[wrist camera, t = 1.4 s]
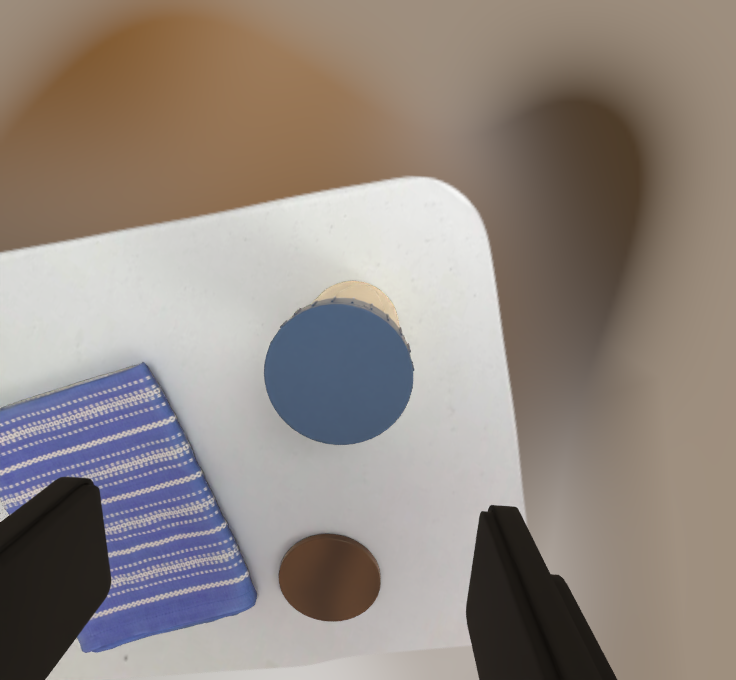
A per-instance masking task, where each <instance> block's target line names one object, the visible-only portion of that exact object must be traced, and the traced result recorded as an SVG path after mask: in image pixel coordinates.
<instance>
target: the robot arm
mask: <svg viewBox="0 0 736 680" xmlns="http://www.w3.org/2000/svg"><path fill="white" fill-rule="evenodd" d="M110 587H111V572H110V565H109V557H108V549H107V542H106V534H105V527H104V519H103V512H102V504H101V496H100V490H99V488H98V486H95V485H94V483H93V481H92V480H91V479H89V478H80V477H60V478H58V479H56V480H55V481H54V482H52V483H51V484H50V485H48V486H47V487H46V488H45V489H43V490H42V491H41V492H39V493H38V494H37V495H35V496H34V497H33V498H31V499H30V500H29V501H28V502H26V503H25V504H24V505H22V506H21V507H20V508H18V509H17V510H16V511H15V512H13V513H12V514H11V515H9V516H8V517H7V518H5V519H4V520H3V521H1V522H0V680H45V679H46V678H47V676H48V675H49V674H50V672H51V671H52V670H53V668H54V667H55V666H56V664H57V663H58V662H59V660H60V659H61V658H62V656H63V655H64V654H65V652H66V651H67V650H68V648H69V647H70V646H71V644H72V643H73V642H74V640H75V639H76V638H77V636H78V635H79V634H80V632H81V631H82V630H83V628H84V627H85V626H86V624H87V623H88V622H89V620H90V619H91V618H92V616H93V615H94V614H95V612H96V611H97V610H98V608H99V607H100V606H101V604H102V603H103V602H104V600H105V599H106V597H107V595H108V593H109V590H110ZM466 617H467V625H468V630H469V634H470V639H471V643H472V648H473V652H474V657H475V661H476V666H477V671H478V675H479V680H617V679H616V676H615V674H614V672H613V671H612V669H611V667H610V665H609V663H608V661H607V659H606V657H605V655H604V653H603V652H602V650H601V648H600V646H599V644H598V642H597V640H596V638H595V637H594V635H593V633H592V631H591V629H590V627H589V625H588V623H587V621H586V619H585V617H584V616H583V614H582V612H581V610H580V608H579V606H578V604H577V602H576V600H575V599H574V597H573V595H572V593H571V591H570V589H569V587H568V585H567V584H566V582H565V581H564V579H563V578H562V577H561V576H559V575H552V574H550V572H549V570H548V568H547V567H546V564H545V563H544V560H543V558H542V556H541V554H540V552H539V550H538V548H537V546H536V544H535V542H534V540H533V538H532V536H531V534H530V532H529V530H528V528H527V526H526V524H525V522H524V520H523V518H522V516H521V514H520V512H519V510H518V508H516V507H512V506H497V505H491V506H490V507H489V509H488V512H484V511H482V512H481V513H480V517H479V524H478V530H477V537H476V544H475V551H474V558H473V564H472V571H471V578H470V585H469V591H468V598H467V605H466Z"/></svg>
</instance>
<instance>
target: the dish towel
mask: <svg viewBox="0 0 736 680" xmlns="http://www.w3.org/2000/svg"><path fill="white" fill-rule="evenodd" d="M60 477H80V478H89V479H91V480H92V481H93V483H94V485H95V486H98V488H99V490H100V496H101V504H102V512H103V519H104V527H105V534H106V542H107V549H108V557H109V565H110V572H111V587H110V590H109V593H108V595H107V597H106V599H105V600H104V602H103V603H102V604H101V606H100V607H99V608H98V610H97V611H96V612H95V614H94V615H93V616H92V618H91V619H90V620H89V622H88V623H87V624H86V626H85V627H84V628H83V630H82V631H81V632H80V634H79V635H78V636H77V638H78V640H79V643H80V645H81V649H82V651H83V652H85V653H87V652H91V651H92V652H101V651H105V650H109V649H113V648H115V647H118V646H120V645H122V644H125V643H129V642H132V641H136V640H139V639H142V638H145V637H148V636H152V635H156V634H160V633H165V632H170V631H174V630H178V629H183V628H187V627H191V626H194V625H198V624H203V623H208V622H212V621H215V620H218V619H221V618H224V617H228V616H234V615H237V614H239V613H240V612H243V611H245V610H248V609H249V608H251V607H252V606H254V605H255V602H256V599H257V593H256V590H255V588H254V586H253V584H252V581H251V579H250V576H249V571H248V569H247V567H246V565H245V563H244V560H243V557H242V555H241V554H240V550H239V548H238V545H237V543H236V541H235V540H234V537H233V534H232V533H231V531H230V529H229V527H228V525H227V522H226V520H225V519H224V518H223V516H222V514H221V512H220V508H219V506H218V505H217V502H216V499H215V497H214V495H213V493H212V492H211V490H210V488H209V485H208V484H207V483H206V480H205V478H204V475H203V472H202V469H201V468H200V467H199V465H198V463H197V461H196V459H195V456H194V454H193V452H192V448H191V446H190V444H189V442H188V440H187V439H186V437H185V435H184V431H183V430H182V428H181V426H180V425H179V423H178V421H177V417H176V415H175V413H174V412H173V411H172V409H171V407H170V405H169V403H168V400H167V399H166V397H165V396H164V392H163V391H162V389H161V387H160V386H159V384H158V383H157V381H156V380H155V378H154V377H153V374H152V373H151V372H150V370H149V368H148V366H147V365H146V364H145V363H144V362H142V363H141V364H139V365H134V366H130V367H127V368H124V369H121V370H119V371H116V372H112V373H109V374H105V375H100V376H98V377H94V378H91V379H88V380H84V381H80V382H78V383H75V384H72V385H69V386H66V387H63V388H59V389H56V390H53V391H50V392H46V393H43V394H40V395H37V396H34V397H31V398H28V399H24V400H22V401H19V402H16V403H13V404H10V405H8V406H5V407H2V408H0V500H1V503H2V505H3V506H4V508H5V509H6V511H7V512H8V514H9V515H11V514H12V513H13V512H15V511H16V510H17V509H18V508H20V507H21V506H22V505H24V504H25V503H26V502H28V501H29V500H30V499H31V498H33V497H34V496H35V495H37V494H38V493H39V492H41V491H42V490H43V489H45V488H46V487H47V486H48V485H50V484H51V483H52V482H54V481H55V480H56V479H58V478H60Z"/></svg>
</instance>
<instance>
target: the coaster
mask: <svg viewBox="0 0 736 680" xmlns="http://www.w3.org/2000/svg"><path fill="white" fill-rule="evenodd" d="M279 584H280V588H281V591H282V593H283V595H284V597H285V599H286V600H287V601H288V602H289V604H290V605H291V606H292V607H294V608H295V609H296V610H297V611H299V612H300V613H302V614H304V615H306V616H308V617H311V618H314V619H317V620H321V621H343V620H348V619H351V618H354V617H356V616H358V615H360V614H362V613H363V612H365V611H366V610H367V609H368V608H369V607H370V606H371V605H372V604H373V603H374V601H375V600H376V598H377V596H378V593H379V590H380V569H379V566H378V563H377V561H376V559H375V558H374V556H373V555H372V553H371V552H370V551H369V550H368V549H367V548H366V547H364V546H363V545H362V544H360V543H359V542H357V541H355V540H353V539H351V538H348V537H345V536H341V535H336V534H319V535H314V536H310V537H308V538H305V539H303V540H301V541H299V542H298V543H296V544H295V545H294V546H293V547H291V548H290V550H289V551H288V552H287V553H286V555H285V556H284V558H283V561H282V563H281V566H280V570H279Z"/></svg>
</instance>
